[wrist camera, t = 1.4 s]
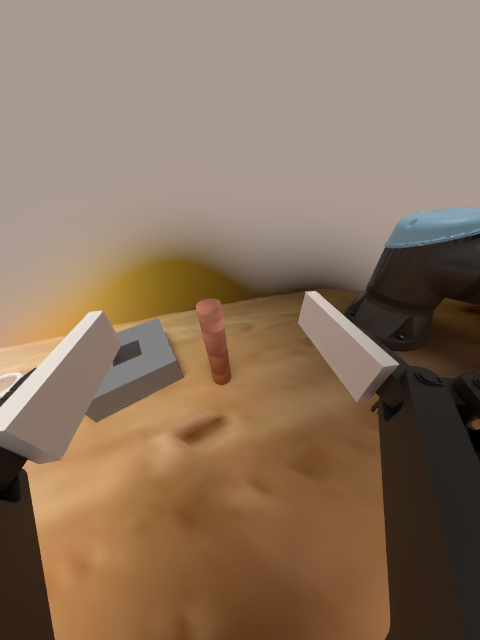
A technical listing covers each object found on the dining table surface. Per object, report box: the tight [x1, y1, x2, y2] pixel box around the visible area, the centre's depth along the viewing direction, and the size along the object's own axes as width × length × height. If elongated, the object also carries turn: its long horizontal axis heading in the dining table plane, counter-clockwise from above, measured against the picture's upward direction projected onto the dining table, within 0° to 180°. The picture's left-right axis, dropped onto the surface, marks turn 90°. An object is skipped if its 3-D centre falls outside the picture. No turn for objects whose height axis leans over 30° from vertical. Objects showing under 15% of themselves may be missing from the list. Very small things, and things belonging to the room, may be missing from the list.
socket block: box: [85, 318, 184, 422], centre depth 33 cm, size 14×14×5 cm
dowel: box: [196, 298, 231, 385], centre depth 27 cm, size 3×3×16 cm
